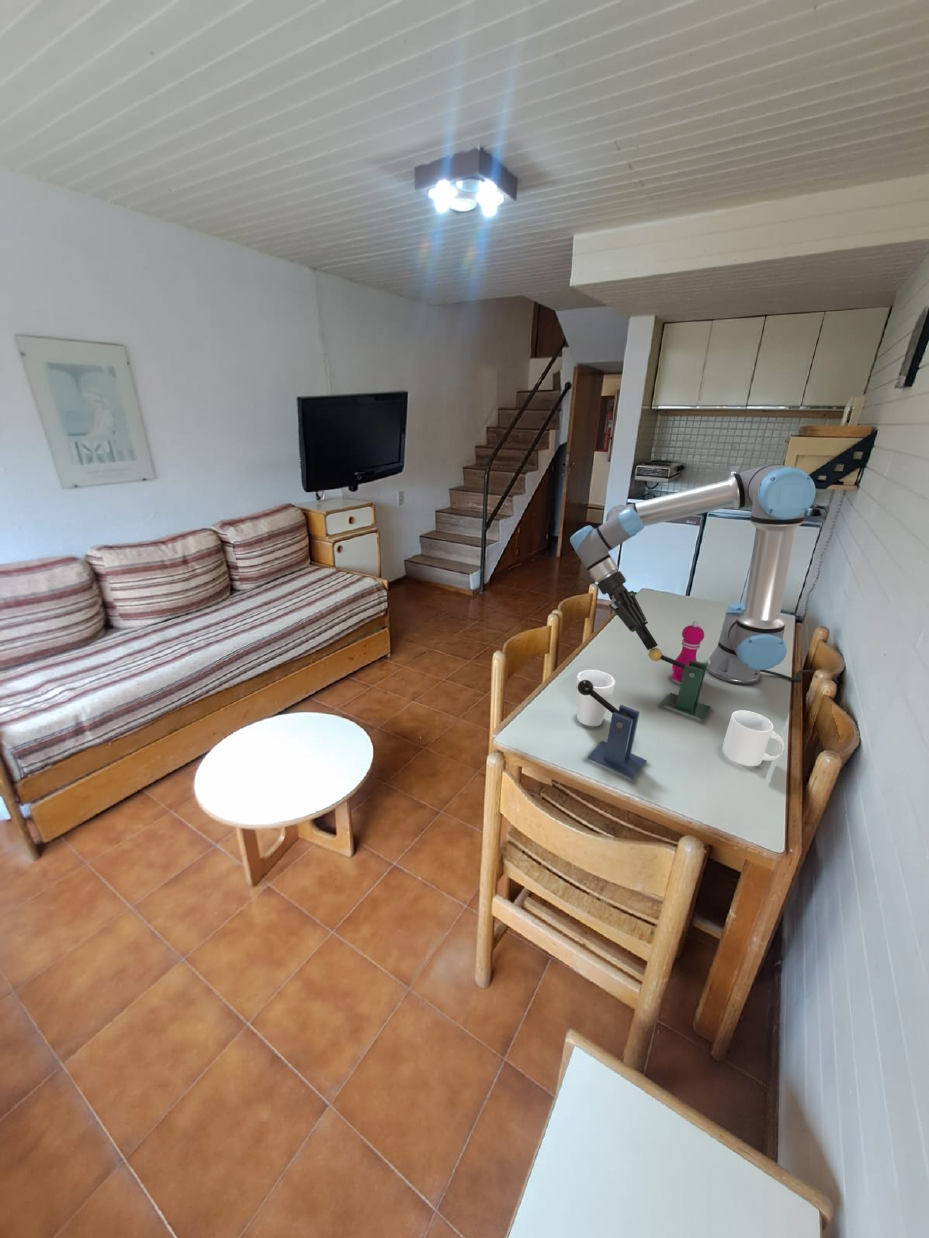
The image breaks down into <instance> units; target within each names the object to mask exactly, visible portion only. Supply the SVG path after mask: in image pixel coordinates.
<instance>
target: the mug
mask: <svg viewBox="0 0 929 1238" xmlns="http://www.w3.org/2000/svg"><path fill="white" fill-rule="evenodd" d="M770 739H772V740H774V741H777V742H778V743H779V744H780V746H781V751H780V752H779V753H777V754H769V753H767V752H766V751H767V748H768V745H769V742H770ZM785 744H786V743H785V741H784V739H783V738H782V737H781V736H780V734H779V733H778V732H776V731H774V724H773V722H772V721H771V720H770V719H769V718H767V717H766V716H764V715H762V714H760V713H757V712H755V711H751V710H745V709H740V710H735V711H733V712H732V713H731V715H730V720H729V722H728V726H727V729H726V732H725V736H724V739H723V743H722V746H721V752H722V753H723V754H724V756H725V757H726V758H727V759H728V760H731V761H733V763H736V764H739V765H742V766H746V767H756V766H757V767H758V766H760V765H761V764H762V762H763V761H765V762H771V761H775V760H777V759H779V758H781V756H783V753H784V752H785V748H786V745H785Z"/></svg>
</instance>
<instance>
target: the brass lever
mask: <svg viewBox="0 0 929 1238" xmlns="http://www.w3.org/2000/svg"><path fill="white" fill-rule="evenodd" d="M648 658H649V659H650V660H651V661H652V662H653V661H654V662H658V661H660V660H661V661H664V662H666V663H669V664H671V665H672V666H673V665H675V666H678V667H680V668H682V669H685V666H686V665H685V664H683V663H680V662H678V661H676V659H674V658H671V657H668V656H666V655H664V654H663V652H662V650H661V649H660V648H657V647H654V648H652V649H650V650H648ZM691 666H692V667H695V668H698V669H701V670H702V669H703V668H701V667H698V666H696V665H694V664H692V665H691Z"/></svg>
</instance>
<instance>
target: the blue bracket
mask: <svg viewBox="0 0 929 1238" xmlns="http://www.w3.org/2000/svg"><path fill="white" fill-rule="evenodd" d="M624 710H625V711H626V712H627V713H629V714H630V715H631V716H632V717H633V718H634V720H633V719H630V718H628V717H625V716H623V715H620V714H618V713H615V712H614V713H611V718H610V724H609V728H608V729H609V730H608V735H607V740H606V741H604V740H601V742H600V743H599V744H598V745H597V746H596V747H595V748H594V749H593V751H591V752H590V754H589V755H588V756H587V759H589V760H591V761H592V762H595V763H597V764H599V765H602V766H603V767H606V768H608V769H610V770H612V771H614V772H617V773H618V774H621V775H623V776H625V777H627V778H629V779H631V780H634V779H635V778H636V777H637V775H638V774H639V773H640V771H641V770H642V768H643V767H644V766H645V764H646V763H647V759H644V758H642V757H640V756H638V755H635V754H633V753H632V752H633V746H634V742H635V737H636V731H637V727H638V722H639V718H640V713H641V712H640V711H639V710H637V709H636V710H635V709H633V708H631V707H629V706H625V705H623V704H620V705H619V707H618V711H620V712H621V713H622V712H623V711H624Z"/></svg>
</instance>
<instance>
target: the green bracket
mask: <svg viewBox="0 0 929 1238" xmlns="http://www.w3.org/2000/svg"><path fill="white" fill-rule="evenodd" d="M692 664H694V665H696V666H698V667H701V668H703V669H702V670H701V669H698V668H695V667H692V666H691V665H692ZM706 673H707V663H703V662H700V661H698V660H697V661H694V660H690V661H689V665H686V666H685V669H684V673H683V677H682V681H681V682H680V685H679V690H678V693H677V694H676V693H674V692H670V693H669V694H668V695H667V697H666V698H665V699H664V701H662V703H661V705H662V706H665V707H668V708H671V709H674V710H675V711H679V712H680V713H681V712H682V713H684V714H687V715H690V716H692V717H696V718H698V719H700V720H704V719H705V717H706V716H707V714H708V713H709V711H710V710H711V708H712V706H710V705H708V704H705V703H702V702H699V700H700V696H701V691H702V688H703V683H704V679H705V676H706Z"/></svg>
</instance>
